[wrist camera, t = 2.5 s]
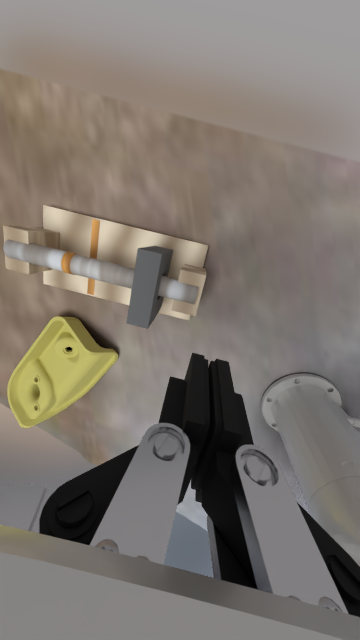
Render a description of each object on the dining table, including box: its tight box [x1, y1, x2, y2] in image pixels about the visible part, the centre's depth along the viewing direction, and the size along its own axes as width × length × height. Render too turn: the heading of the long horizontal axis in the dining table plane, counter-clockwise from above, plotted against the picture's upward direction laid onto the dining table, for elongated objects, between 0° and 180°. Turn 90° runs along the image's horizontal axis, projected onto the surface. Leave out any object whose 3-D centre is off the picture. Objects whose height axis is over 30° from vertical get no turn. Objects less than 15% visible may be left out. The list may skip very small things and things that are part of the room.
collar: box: [127, 246, 173, 329], centre depth 26 cm, size 2×8×8 cm, turn 167°
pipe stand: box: [3, 205, 208, 320], centre depth 29 cm, size 24×11×8 cm, turn 77°
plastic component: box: [7, 316, 118, 428], centre depth 39 cm, size 20×7×10 cm
